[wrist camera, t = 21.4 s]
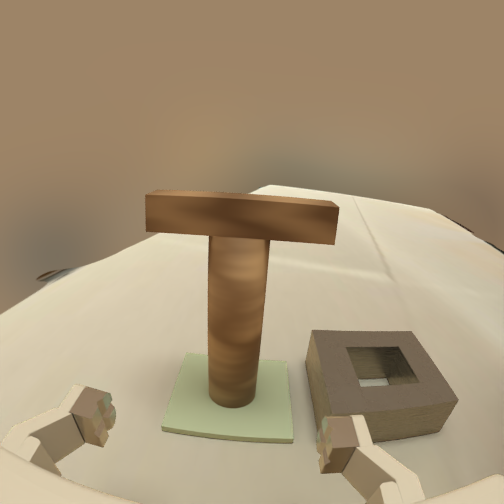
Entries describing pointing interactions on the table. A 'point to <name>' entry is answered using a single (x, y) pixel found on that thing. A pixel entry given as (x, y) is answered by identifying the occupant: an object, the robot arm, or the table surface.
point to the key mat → (231, 419)
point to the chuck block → (378, 397)
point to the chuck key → (238, 268)
